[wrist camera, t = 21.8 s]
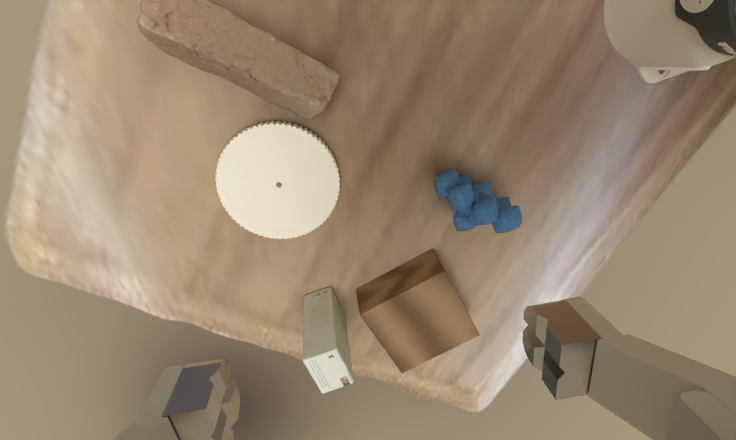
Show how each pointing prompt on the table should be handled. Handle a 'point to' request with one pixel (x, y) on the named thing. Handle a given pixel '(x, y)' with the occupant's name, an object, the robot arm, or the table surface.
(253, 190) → the plastic lid
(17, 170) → the table surface
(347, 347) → the skincare box
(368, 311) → the walnut block
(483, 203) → the grapes
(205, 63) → the brick
